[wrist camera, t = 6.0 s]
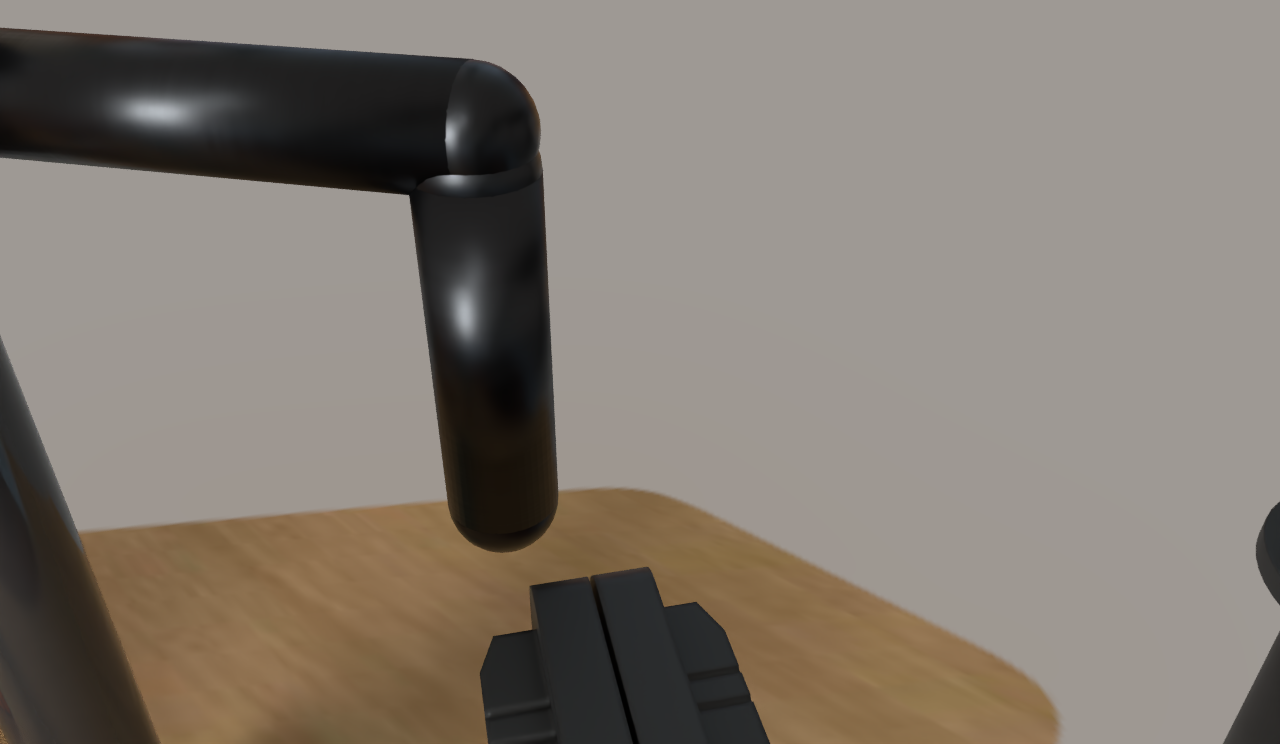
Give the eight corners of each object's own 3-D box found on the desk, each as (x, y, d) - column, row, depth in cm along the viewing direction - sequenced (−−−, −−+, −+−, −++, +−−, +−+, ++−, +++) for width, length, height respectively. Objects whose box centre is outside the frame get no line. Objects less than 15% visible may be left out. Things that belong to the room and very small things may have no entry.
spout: (-210, 502, 16) (-608, -176, 11) (-50, 391, 18) (-309, -193, 13) (526, 624, 13) (466, -143, 8) (585, 480, 16) (566, -171, 11)
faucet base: (267, 829, 28) (47, 154, 17) (246, 1064, 23) (-81, 322, 12) (129, 856, 27) (-189, 171, 17) (78, 1104, 22) (-423, 354, 12)
